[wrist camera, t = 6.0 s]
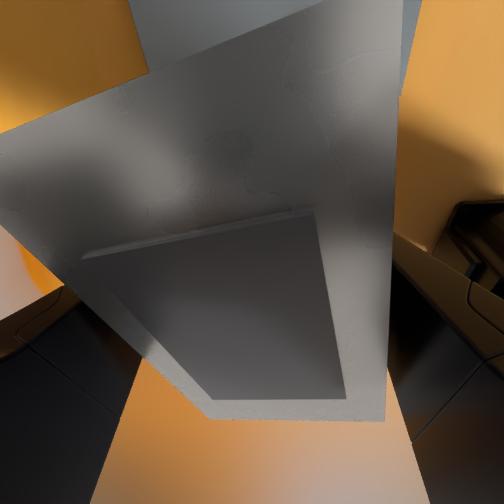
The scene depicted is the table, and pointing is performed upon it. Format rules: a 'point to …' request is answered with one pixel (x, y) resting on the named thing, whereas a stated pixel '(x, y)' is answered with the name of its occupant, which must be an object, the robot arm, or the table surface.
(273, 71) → the block
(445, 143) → the table surface
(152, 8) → the pin tray
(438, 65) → the table surface
